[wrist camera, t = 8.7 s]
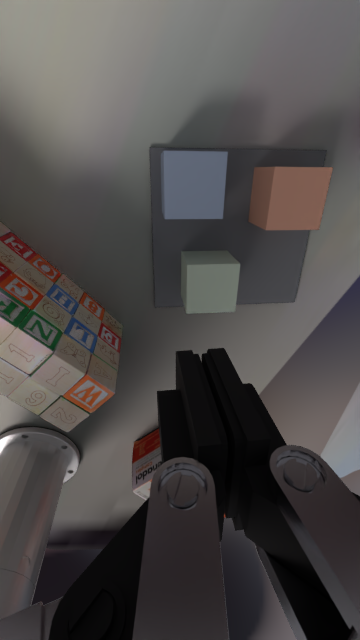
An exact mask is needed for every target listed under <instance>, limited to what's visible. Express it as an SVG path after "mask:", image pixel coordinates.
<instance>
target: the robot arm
mask: <svg viewBox="0 0 360 640" xmlns="http://www.w3.org/2000/svg"><path fill="white" fill-rule="evenodd" d="M157 402H158V421H159V435H160V448H161V460H162V465H161V466H160V467H158V469H157V470H156V472H155V473H154V475H153V478H152V482H151V487H150V496H149V498H148V499H147V500H146V501H145V502H144V504H143V505H142V506H141V507H140V508H139V509H138V510H137V512H136V513H135V514H134V515H133V516H132V517H131V518H130V519H129V521H128V522H127V523H126V524H125V525H124V526H123V527H122V529H121V530H120V531H119V532H118V533H117V534H116V535H115V537H114V538H113V539H112V540H111V541H110V542H109V543H108V545H107V546H106V547H105V548H104V549H103V550H102V551H101V553H100V554H99V555H98V556H97V557H96V558H95V559H94V561H93V562H92V563H91V564H90V565H89V566H88V567H87V569H86V570H85V571H84V572H83V573H82V574H81V575H80V577H79V578H78V579H77V580H76V581H75V582H74V583H73V585H72V586H71V587H70V588H69V589H68V591H67V592H66V594H65V595H64V597H62V598H60V599H57V600H55V601H53V602H51V603H48V604H46V605H44V606H43V604H42V602H39V603H37V604H35V605H32V606H31V603H32V599H33V595H34V591H35V587H36V583H37V579H38V576H39V572H40V568H41V564H42V560H43V557H44V553H45V549H46V545H47V541H48V538H49V534H50V530H51V526H52V523H53V519H54V515H55V511H56V507H57V504H58V500H59V496H60V492H61V489H62V485H63V483H64V482H66V481H68V480H69V479H70V478H72V476H73V475H74V474H75V473H76V471H77V469H78V466H79V462H80V455H79V451H78V449H77V447H76V445H75V444H74V443H73V442H72V441H71V440H70V439H68V438H67V437H66V436H64V435H62V434H60V433H58V432H56V431H53V430H50V429H45V428H38V427H24V428H18V429H14V430H11V431H8V432H6V433H4V434H2V435H0V640H229V634H228V624H227V614H226V602H225V591H224V581H223V570H222V559H221V548H220V542H221V539H222V531H223V522H224V514H225V517H226V518H232V520H233V523H234V527H235V530H243V529H244V532H245V535H246V537H247V538H249V539H250V540H252V541H253V542H254V543H255V546H256V550H257V552H258V555H259V558H260V560H261V562H262V564H263V566H264V569H265V571H266V573H267V575H268V578H269V580H270V582H271V584H272V586H273V588H274V591H275V593H276V595H277V597H278V600H279V602H280V604H281V606H282V608H283V610H284V613H285V615H286V617H287V619H288V622H289V624H290V626H291V628H292V630H293V632H294V635H295V637H296V639H297V640H360V496H358V495H356V494H354V493H353V492H351V491H350V490H349V489H348V487H347V486H346V485H345V484H344V483H343V482H342V480H341V479H340V478H339V477H338V476H337V474H336V473H335V472H334V471H333V470H332V469H331V467H330V466H329V465H328V464H327V463H326V462H325V461H324V460H323V459H322V458H321V457H320V456H319V455H317V454H316V453H314V452H313V451H311V450H309V449H307V448H304V447H301V446H296V445H286V443H285V441H284V439H283V438H282V436H281V434H280V432H279V431H278V429H277V427H276V425H275V423H274V422H273V420H272V418H271V417H270V415H269V413H268V411H267V409H266V407H265V406H264V404H263V402H262V400H261V399H260V397H259V395H258V393H257V392H256V390H255V388H254V387H253V385H252V384H250V383H248V384H242V382H241V380H240V378H239V376H238V374H237V372H236V370H235V368H234V366H233V364H232V362H231V360H230V358H229V356H228V355H227V353H226V351H225V349H224V348H218V349H208V350H207V353H205V354H202V363H201V360H200V357H199V355H198V354H193V352H192V350H189V351H176V390H166V391H157Z"/></svg>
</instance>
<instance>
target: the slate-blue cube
mask: <svg viewBox="0 0 360 640" xmlns="http://www.w3.org/2000/svg"><path fill="white" fill-rule="evenodd" d="M227 156H228V152H218V151H163V152H162V153H161V192H162V213H163V216H164V218H165V219H223V209H224V196H225V182H226V169H227Z"/></svg>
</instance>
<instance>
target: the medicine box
mask: <svg viewBox="0 0 360 640" xmlns="http://www.w3.org/2000/svg"><path fill="white" fill-rule="evenodd" d="M161 465H162V460H161V448H160V435H159V428H158V429H157V430H155V431H154V432H152V433H150V434H148V435H147V436H145V437H144V438H142V439H141V440H139V441H135V442H134V447H133V457H132V489H133V492H134V493H136V494H137V495H139V496H140V497H142V498H144V499H145V500H147V499H148V498H149V496H150V487H151V482H152V478H153V475H154V473H155V472H156V470H157V469H158V467H160V466H161ZM224 517H225V514H224Z"/></svg>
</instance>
